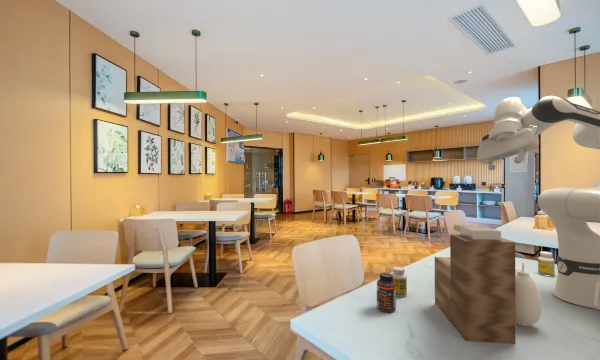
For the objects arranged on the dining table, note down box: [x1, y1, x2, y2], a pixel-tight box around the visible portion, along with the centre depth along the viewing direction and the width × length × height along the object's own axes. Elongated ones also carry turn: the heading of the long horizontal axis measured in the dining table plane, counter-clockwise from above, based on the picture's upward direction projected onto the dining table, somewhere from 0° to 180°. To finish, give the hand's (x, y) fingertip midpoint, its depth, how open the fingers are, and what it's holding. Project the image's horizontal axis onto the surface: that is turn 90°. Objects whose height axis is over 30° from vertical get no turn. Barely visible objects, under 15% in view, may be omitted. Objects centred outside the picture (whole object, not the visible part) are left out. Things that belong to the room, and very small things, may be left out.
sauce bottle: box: [515, 262, 543, 327], centre depth 79 cm, size 8×8×18 cm
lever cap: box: [453, 224, 502, 241], centre depth 79 cm, size 7×16×2 cm, turn 174°
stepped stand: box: [434, 233, 517, 345], centre depth 80 cm, size 12×21×26 cm, turn 174°
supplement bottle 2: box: [391, 266, 408, 298], centre depth 100 cm, size 5×5×10 cm
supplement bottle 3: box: [537, 251, 556, 277], centre depth 120 cm, size 5×5×10 cm
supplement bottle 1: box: [376, 272, 397, 314], centre depth 88 cm, size 6×6×11 cm
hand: (504, 166), depth 99 cm, fingers open, 8 cm apart
